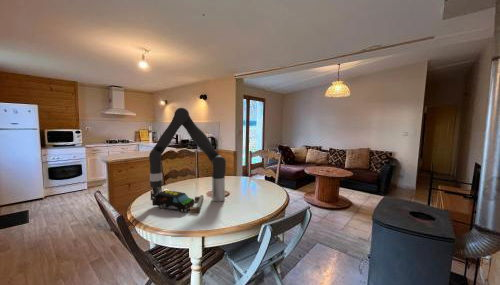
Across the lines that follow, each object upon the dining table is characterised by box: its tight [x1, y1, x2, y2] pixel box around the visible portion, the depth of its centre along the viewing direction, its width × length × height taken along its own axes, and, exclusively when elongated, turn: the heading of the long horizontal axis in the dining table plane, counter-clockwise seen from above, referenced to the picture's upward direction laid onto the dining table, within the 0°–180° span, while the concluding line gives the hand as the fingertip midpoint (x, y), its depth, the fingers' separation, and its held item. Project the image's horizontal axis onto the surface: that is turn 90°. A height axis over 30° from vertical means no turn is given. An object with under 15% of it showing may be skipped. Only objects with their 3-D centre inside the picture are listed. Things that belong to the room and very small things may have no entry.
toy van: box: [155, 189, 195, 214], centre depth 138 cm, size 11×25×10 cm, turn 71°
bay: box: [189, 194, 204, 214], centre depth 140 cm, size 6×21×4 cm, turn 6°
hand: (156, 202), depth 137 cm, fingers open, 8 cm apart
